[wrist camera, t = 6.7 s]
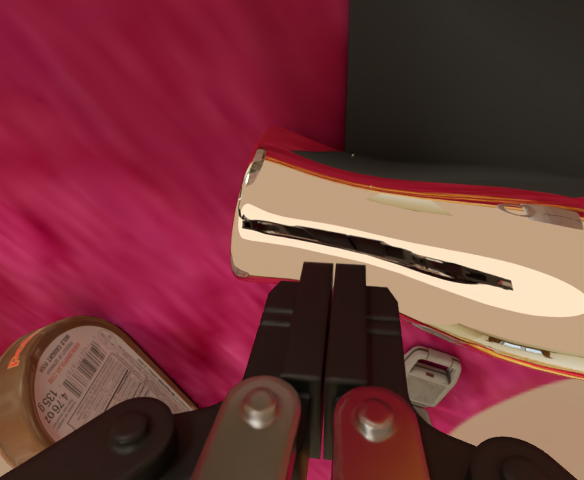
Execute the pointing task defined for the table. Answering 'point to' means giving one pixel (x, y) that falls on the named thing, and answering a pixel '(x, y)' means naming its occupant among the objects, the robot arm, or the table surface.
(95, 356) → the tin
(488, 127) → the mat
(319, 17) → the table surface
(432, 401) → the strap clip
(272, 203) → the beer glass
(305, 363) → the robot arm
